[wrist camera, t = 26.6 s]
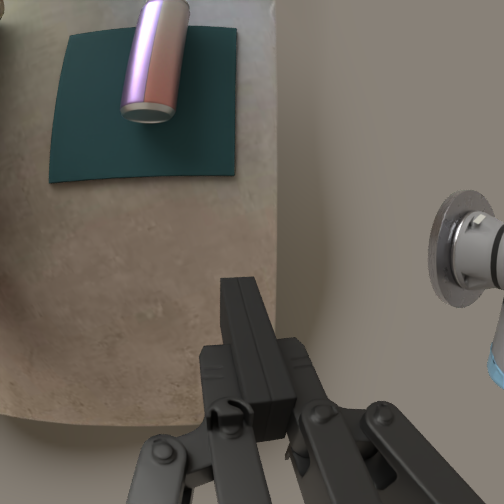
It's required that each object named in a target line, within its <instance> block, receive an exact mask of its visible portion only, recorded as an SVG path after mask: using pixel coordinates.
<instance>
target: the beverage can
mask: <svg viewBox="0 0 504 504" xmlns="http://www.w3.org/2000/svg"><path fill="white" fill-rule="evenodd" d="M189 9H190V7H189V4H188V2H187V1H186V0H147V1H146V2H145V4H144V6H143V8H142V9H141V11H140V15H139V18H138V22H137V26H136V30H135V34H134V38H133V42H132V47H131V51H130V55H129V60H128V65H127V70H126V75H125V81H124V86H123V92H122V98H121V105H120V111H121V114H122V116H123V117H124V118H125V119H127V120H129V121H133V122H138V123H160V122H165V121H168V120H170V119H171V118H172V117H173V115H174V114H175V112H176V106H177V98H178V89H179V81H180V74H181V67H182V60H183V53H184V47H185V41H186V35H187V29H188V23H189V18H190V11H189Z"/></svg>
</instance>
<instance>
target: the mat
mask: <svg viewBox="0 0 504 504" xmlns="http://www.w3.org/2000/svg"><path fill="white" fill-rule="evenodd" d="M135 30H136V27H131V28H120V29H111V30H102V31H95V32H88V33H82V34H76V35H71V36H70V38H69V41H68V45H67V49H66V53H65V57H64V62H63V66H62V71H61V76H60V81H59V87H58V92H57V98H56V105H55V112H54V120H53V128H52V138H51V149H50V164H49V183H60V182H71V181H83V180H96V179H112V178H131V177H157V176H234V175H235V84H236V38H237V28H226V27H210V26H188V29H187V35H186V41H185V47H184V53H183V60H182V67H181V74H180V81H179V89H178V98H177V106H176V112H175V114H174V115H173V117H172V118H171V119H170V120H168V121H165V122H160V123H138V122H133V121H129V120H127V119H125V118H124V117H123V116H122V114H121V111H120V105H121V98H122V92H123V86H124V81H125V75H126V70H127V65H128V60H129V55H130V51H131V47H132V42H133V38H134V34H135Z"/></svg>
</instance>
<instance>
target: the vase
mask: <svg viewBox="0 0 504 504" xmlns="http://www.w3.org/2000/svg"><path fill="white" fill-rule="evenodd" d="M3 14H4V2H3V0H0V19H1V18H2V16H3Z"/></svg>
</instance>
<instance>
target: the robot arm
mask: <svg viewBox="0 0 504 504" xmlns="http://www.w3.org/2000/svg"><path fill="white" fill-rule="evenodd" d="M450 268H451V273H452V276H453V279H454V281H455V283H456V284H457V285H458V286H459V287H461V288H463V289H466V290H473V291H474V290H482V289H490V288H498V289H501V290H504V222H502V221H500V220H498V219H496V218H494V217H492V216H490V215H489V214H487V213H485V212H481V211H473V210H472V211H468V212H466V213H465V214H464V215H463V216H462V217H461V218H460V220H459V221H458V223H457V225H456V227H455V230H454V233H453V236H452V240H451V246H450ZM220 327H221V333H222V339H223V344H224V345H209V346H203V349H202V351H201V353H200V355H199V361H200V373H201V384H202V393H203V403H204V411H205V417H204V420H203V422H202V423H201V425H200V426H199V427H198V428H197V429H196V430H194V431H192V432H190V433H188V434H185V435H182V436H179V437H173V436H171V435H166V434H165V435H164V434H163V435H161V434H159V435H156V436H152V437H150V438H149V439H148V440H147V441H145V442H144V444H143V446H142V448H141V451H140V454H139V458H138V461H137V465H136V469H135V472H134V476H133V479H132V483H131V487H130V490H129V494H128V499H127V501H126V504H192V499H193V493H194V488H195V487H197V486H200V485H203V484H205V483H208V482H211V481H213V480H214V484H215V490H216V496H217V502H218V504H272V502H271V498H270V494H269V491H268V487H267V483H266V480H265V475H264V472H263V468H262V464H261V460H260V456H259V452H258V448H257V444H256V443H257V442H263V441H270V440H276V439H282V438H285V435H286V432H287V435H288V438H289V441H290V443H289V446H288V449H287V451H286V454H285V460H288V459H289V457H290V458H291V461H292V464H293V468H294V471H295V474H296V478H297V481H298V484H299V487H300V490H301V493H302V496H303V500H304V503H305V504H485V503H484V502H483V500H482V499H481V498H480V497H479V496H478V495H477V494H476V493H475V492H474V491H473V490H472V489H471V487H470V486H469V485H468V484H467V483H466V482H465V481H464V480H463V479H462V478H461V477H460V475H459V474H458V473H457V472H456V471H455V470H454V469H453V468H452V467H451V466H450V465H449V463H448V462H447V461H446V460H445V459H444V458H443V457H442V456H441V455H440V454H439V453H438V452H437V451H436V449H435V448H434V447H433V446H432V445H431V444H430V443H429V442H428V441H427V440H426V438H424V436H423V435H422V434H421V433H420V432H419V431H418V430H417V429H416V428H415V427H414V425H413V424H412V423H411V422H410V421H409V420H408V419H407V418H406V417H405V416H404V415H403V414H402V412H401V411H399V409H398V408H397V407H396V406H394V405H393V404H391V403H389V402H386V401H377V402H374V403H372V404H371V405H370V406H369V407H367V409H366V410H365V409H346V408H342V407H339V406H338V405H337V404H335V403H334V402H332V401H331V400H329V399H328V398H327V396H326V393H325V391H324V389H323V387H322V385H321V382H320V380H319V378H318V375H317V373H316V371H315V369H314V367H313V366H312V362H311V360H310V358H309V355H308V353H307V351H306V349H305V346H304V345H303V344H302V343H301V342H299V340H297V338H295V337H293V338H284V339H276V336H275V333H274V331H273V328H272V325H271V322H270V320H269V317H268V314H267V311H266V309H265V306H264V303H263V300H262V297H261V295H260V292H259V289H258V286H257V284H256V281H255V278H254V277H235V278H220ZM487 367H488V373H489V375H490V377H491V379H492V380H493V381H494V382H495V383H496V384H497V385H498V386H499V387H500V388H502V389H504V299H503V303H502V308H501V312H500V317H499V321H498V325H497V329H496V332H495V336H494V340H493V342H492V344H491V347H490V355H489V359H488V362H487Z"/></svg>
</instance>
